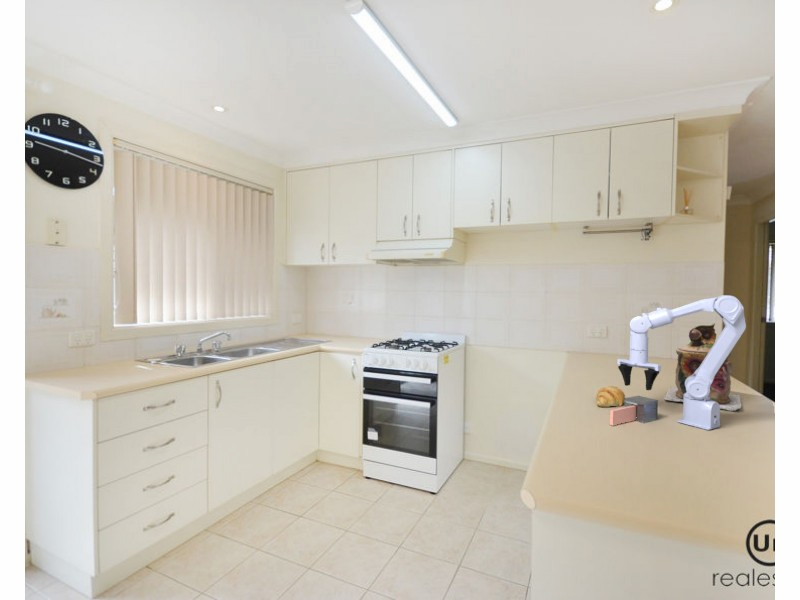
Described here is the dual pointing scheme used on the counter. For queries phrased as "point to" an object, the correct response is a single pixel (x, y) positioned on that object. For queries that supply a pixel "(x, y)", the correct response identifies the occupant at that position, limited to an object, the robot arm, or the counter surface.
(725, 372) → the cookie jar
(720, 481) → the counter surface
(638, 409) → the grey cube
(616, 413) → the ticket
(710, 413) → the robot arm
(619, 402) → the croissant
